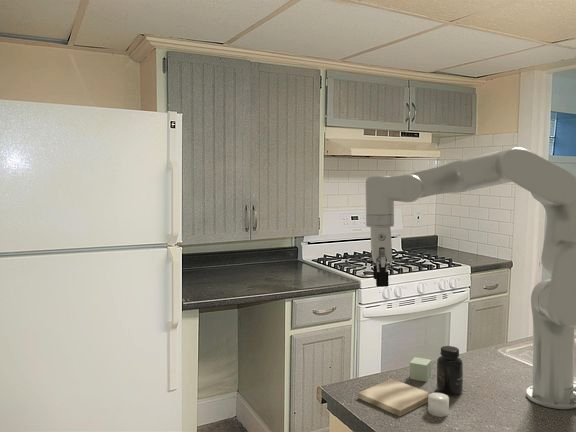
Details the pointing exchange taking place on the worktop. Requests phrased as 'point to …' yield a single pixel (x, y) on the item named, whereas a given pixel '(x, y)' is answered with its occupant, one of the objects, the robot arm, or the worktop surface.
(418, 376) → the sage block
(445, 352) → the supplement bottle
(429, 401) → the white rounded lump
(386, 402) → the birch board
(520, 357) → the worktop surface
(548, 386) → the robot arm
